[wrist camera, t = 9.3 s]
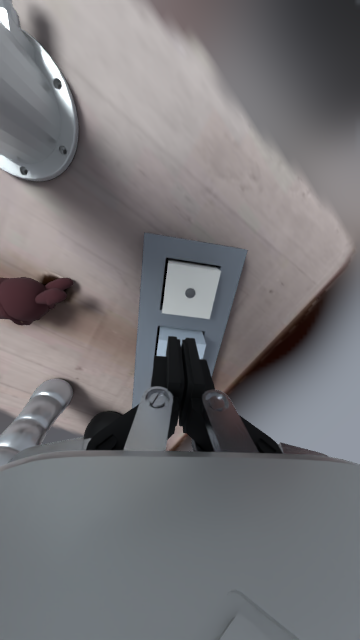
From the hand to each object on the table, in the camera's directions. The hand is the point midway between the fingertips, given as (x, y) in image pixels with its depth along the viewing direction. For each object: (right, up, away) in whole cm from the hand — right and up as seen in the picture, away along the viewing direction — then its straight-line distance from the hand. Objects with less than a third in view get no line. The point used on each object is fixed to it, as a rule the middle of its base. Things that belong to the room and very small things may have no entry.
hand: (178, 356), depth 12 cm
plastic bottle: (-24, -11, +26) cm, 38 cm away
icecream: (-23, +6, +18) cm, 30 cm away
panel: (0, -1, +23) cm, 23 cm away
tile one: (+1, +8, +18) cm, 20 cm away
